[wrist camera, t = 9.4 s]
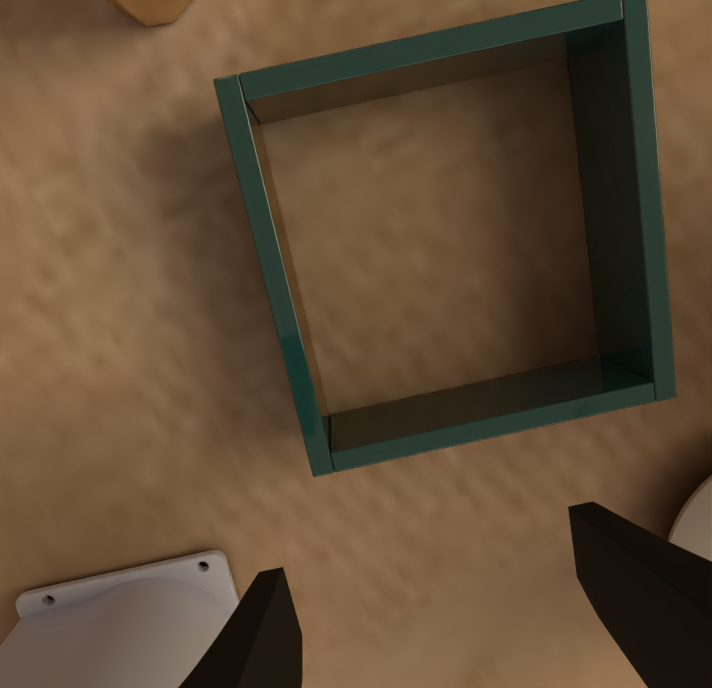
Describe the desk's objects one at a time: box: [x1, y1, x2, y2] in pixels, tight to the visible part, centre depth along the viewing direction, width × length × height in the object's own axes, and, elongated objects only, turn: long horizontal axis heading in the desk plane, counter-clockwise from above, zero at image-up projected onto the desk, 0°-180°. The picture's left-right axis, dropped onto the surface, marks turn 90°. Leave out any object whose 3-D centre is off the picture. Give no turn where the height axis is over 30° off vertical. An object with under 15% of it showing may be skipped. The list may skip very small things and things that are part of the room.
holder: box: [213, 0, 677, 477], centre depth 20 cm, size 14×14×4 cm
